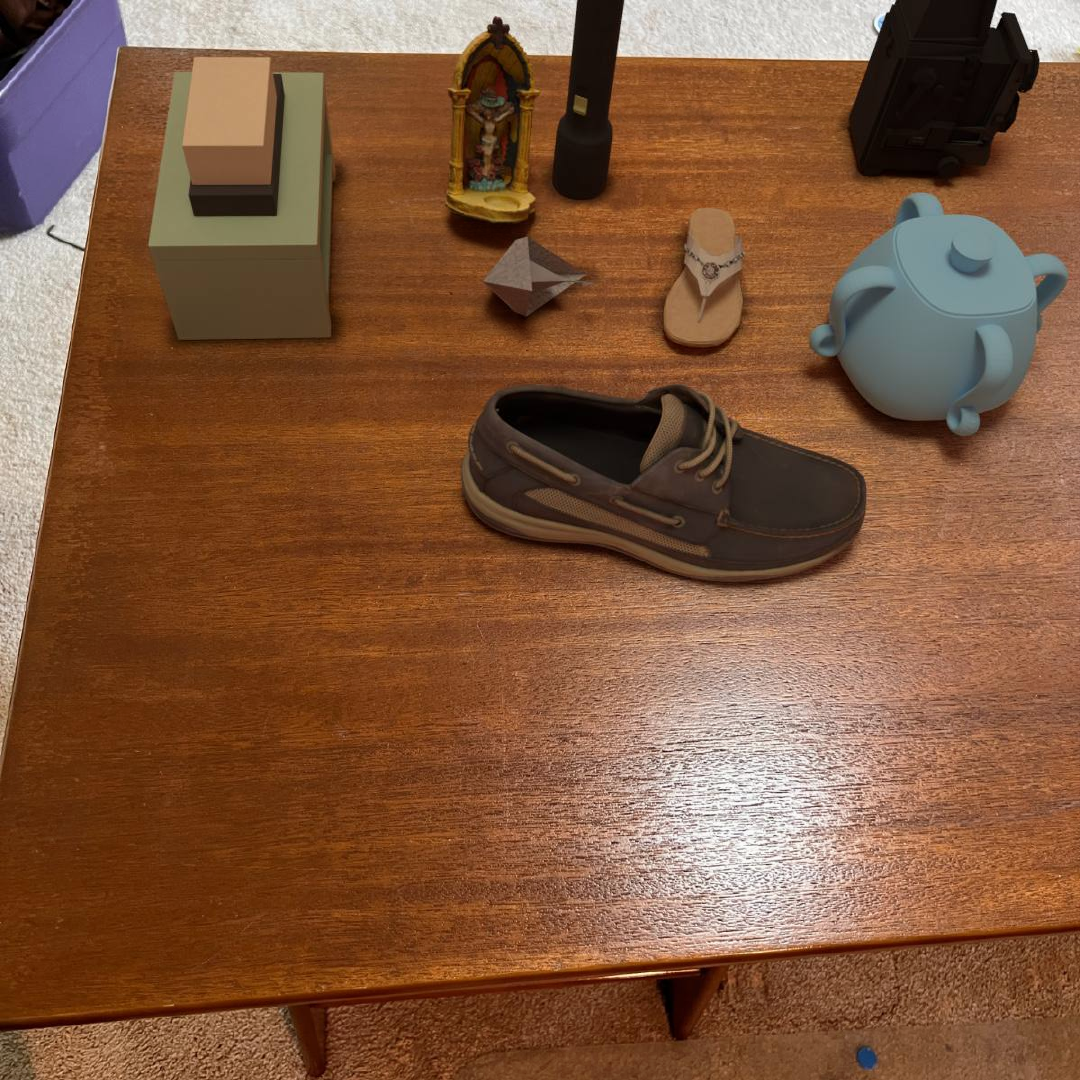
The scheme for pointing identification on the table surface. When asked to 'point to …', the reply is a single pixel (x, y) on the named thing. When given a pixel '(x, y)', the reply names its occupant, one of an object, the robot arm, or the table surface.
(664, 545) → the boat shoe
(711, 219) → the sandal
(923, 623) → the table surface
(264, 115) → the board eraser
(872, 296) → the decorative pot
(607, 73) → the flashlight
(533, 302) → the paper boat
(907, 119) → the camera
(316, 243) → the olive green lidded box
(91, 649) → the table surface
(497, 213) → the shrine
